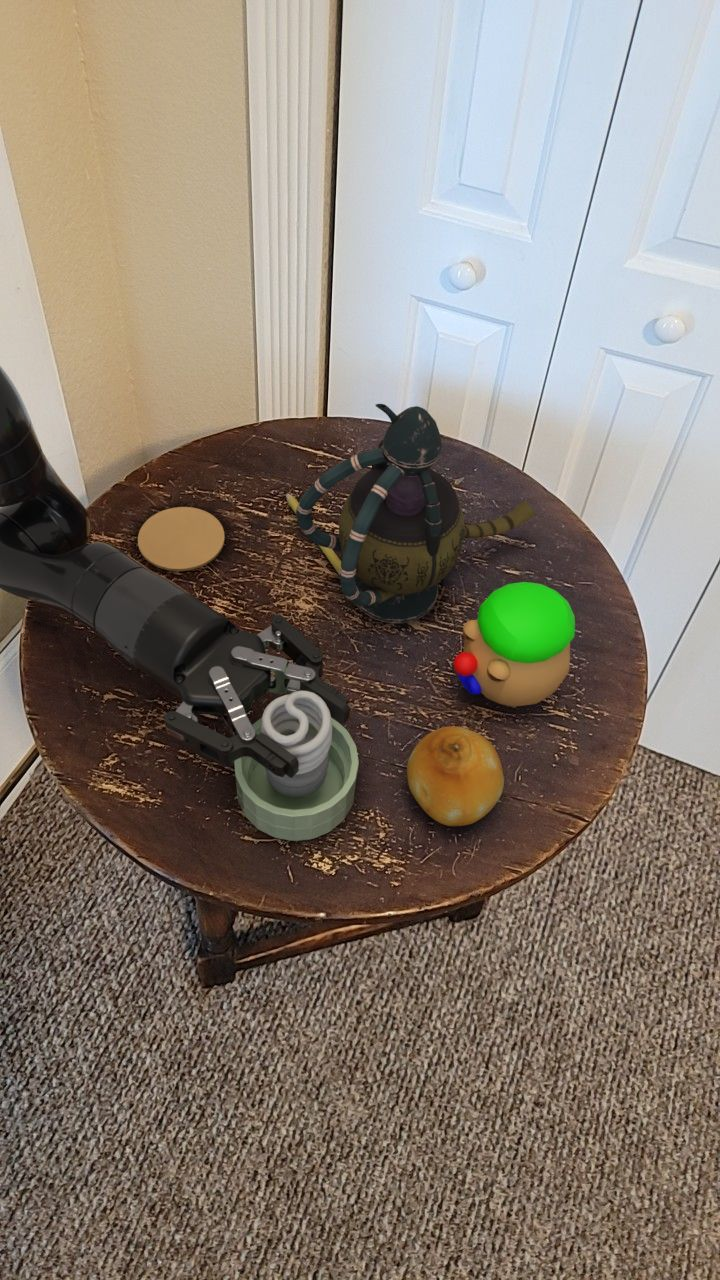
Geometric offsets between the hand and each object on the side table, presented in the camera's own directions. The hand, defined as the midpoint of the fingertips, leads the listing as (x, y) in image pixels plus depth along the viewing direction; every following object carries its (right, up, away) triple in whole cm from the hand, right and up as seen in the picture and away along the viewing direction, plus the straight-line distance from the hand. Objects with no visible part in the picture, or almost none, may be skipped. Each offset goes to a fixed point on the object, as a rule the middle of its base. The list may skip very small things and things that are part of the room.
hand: (321, 741), depth 71 cm
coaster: (-16, +18, +26) cm, 36 cm away
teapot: (+10, +14, +25) cm, 30 cm away
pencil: (-2, +19, +28) cm, 34 cm away
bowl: (-3, -5, +9) cm, 11 cm away
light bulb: (-3, -5, +9) cm, 11 cm away
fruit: (+11, -6, +10) cm, 16 cm away
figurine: (+16, +3, +17) cm, 24 cm away
